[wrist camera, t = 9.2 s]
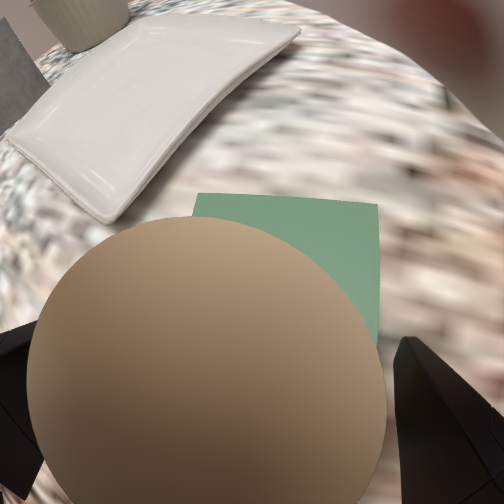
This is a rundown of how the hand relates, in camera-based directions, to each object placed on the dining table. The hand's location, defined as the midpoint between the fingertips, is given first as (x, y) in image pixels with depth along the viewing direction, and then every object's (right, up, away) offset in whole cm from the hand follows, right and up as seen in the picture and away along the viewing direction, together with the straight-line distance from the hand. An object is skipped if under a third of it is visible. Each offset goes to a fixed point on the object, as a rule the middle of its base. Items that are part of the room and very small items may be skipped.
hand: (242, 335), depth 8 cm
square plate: (-12, +20, +20) cm, 31 cm away
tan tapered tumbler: (+1, -4, +7) cm, 8 cm away
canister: (-29, +43, +31) cm, 61 cm away
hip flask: (-37, +24, +25) cm, 51 cm away
